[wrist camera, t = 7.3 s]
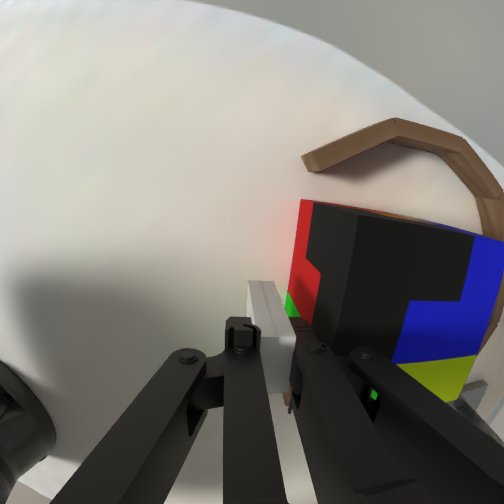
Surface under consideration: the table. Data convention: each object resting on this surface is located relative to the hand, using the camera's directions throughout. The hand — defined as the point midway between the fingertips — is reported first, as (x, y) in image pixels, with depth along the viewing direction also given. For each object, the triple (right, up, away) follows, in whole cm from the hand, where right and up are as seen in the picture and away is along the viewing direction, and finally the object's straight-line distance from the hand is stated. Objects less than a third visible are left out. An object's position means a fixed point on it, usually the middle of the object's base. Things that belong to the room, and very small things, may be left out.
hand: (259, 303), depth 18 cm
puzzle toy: (+7, +1, +5) cm, 9 cm away
